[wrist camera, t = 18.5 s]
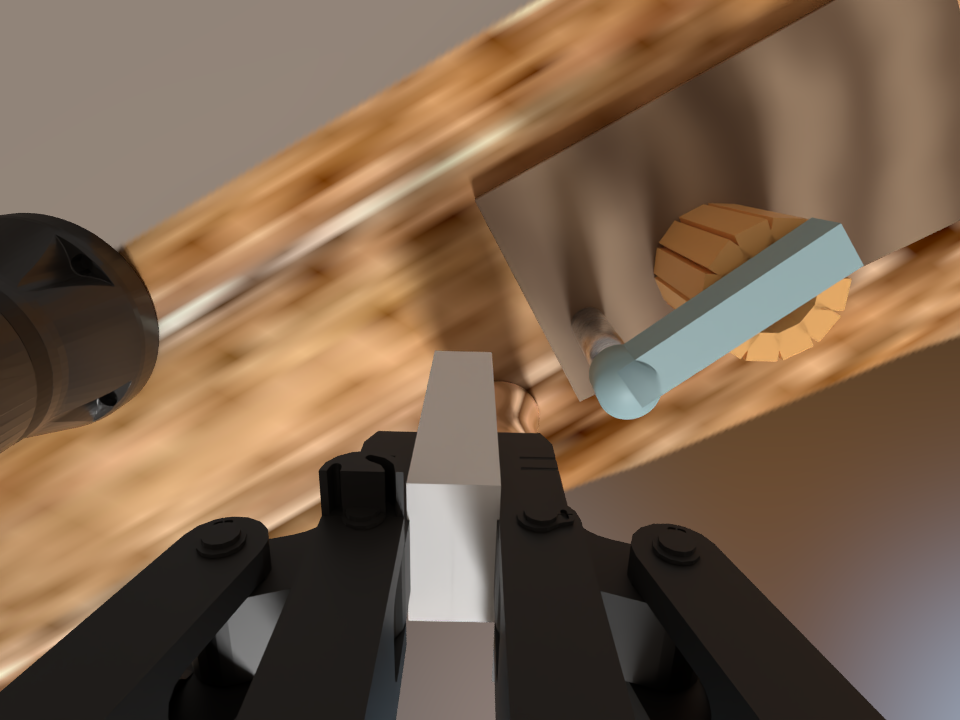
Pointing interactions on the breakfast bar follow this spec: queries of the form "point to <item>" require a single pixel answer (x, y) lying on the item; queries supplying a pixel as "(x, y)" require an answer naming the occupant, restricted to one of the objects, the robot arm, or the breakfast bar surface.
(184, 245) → the breakfast bar surface
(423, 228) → the breakfast bar surface
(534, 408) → the beer glass
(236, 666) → the robot arm
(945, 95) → the plate
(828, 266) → the bar
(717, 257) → the collar
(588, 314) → the silver metal piece
